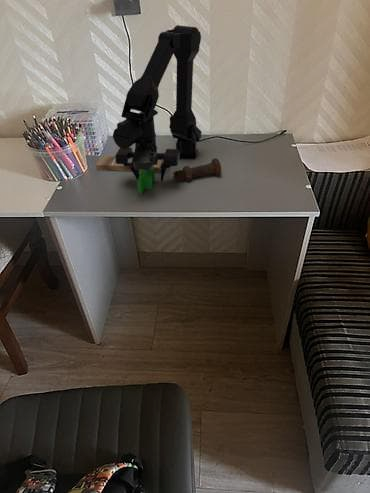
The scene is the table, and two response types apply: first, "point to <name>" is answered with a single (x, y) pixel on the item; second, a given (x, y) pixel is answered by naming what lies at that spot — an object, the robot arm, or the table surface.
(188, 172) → the bolt
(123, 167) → the brown wooden plank
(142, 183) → the pipe clamp
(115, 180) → the table surface
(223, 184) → the table surface
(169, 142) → the table surface
